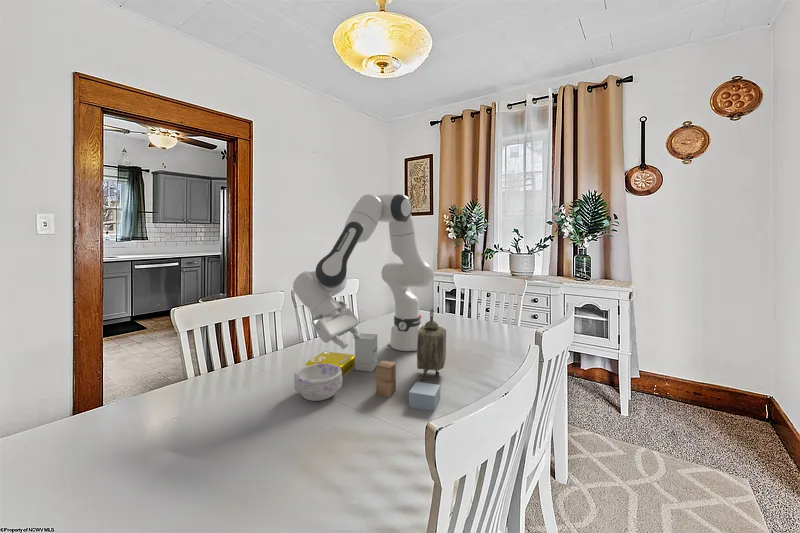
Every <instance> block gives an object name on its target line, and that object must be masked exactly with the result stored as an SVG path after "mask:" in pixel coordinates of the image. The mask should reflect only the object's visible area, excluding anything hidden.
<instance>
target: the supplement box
mask: <svg viewBox="0 0 800 533" xmlns="http://www.w3.org/2000/svg"><path fill="white" fill-rule="evenodd" d="M358 334H359V335H360V336H361V338H360V339H359V340H358V341H356V340H355V339H354V355H355V367H354V370H355V371H361V372H373V371H374V370H375V369H376V365H377V364H378V334H377V333H375V334H374V333H358Z"/></svg>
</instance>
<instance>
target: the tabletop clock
mask: <svg viewBox="0 0 800 533" xmlns="http://www.w3.org/2000/svg"><path fill="white" fill-rule="evenodd" d="M446 355H447V329H446V328H445V327H442V326H439V325H438V323H437V322H436V321H435V320H434V308H431V309H430V312H429V320H428V321H427V322H425V324H424V325H422V326H421V327H420V329H419V332H418V339H417V350H416V362H417V363H416V367H417V369H418V370H424V371H423V375H420V380H421V381H424V380H425V378H426V377H425V376H426V374H427V372H428V371H435V372H434V375H435V376H437V377H438V376H440V372H439V371H440V370H443V369H444V368H445V363H446V358H447V357H446Z"/></svg>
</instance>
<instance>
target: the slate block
mask: <svg viewBox="0 0 800 533" xmlns="http://www.w3.org/2000/svg"><path fill="white" fill-rule="evenodd" d="M440 400H441V384H435V383H429V382H428V383H427V382H421V381H415V383H414V384H413V386H412V387H411V388H410V390H409V391H408V408H412V409H418V410H424V411H431V412H435V411H436V409H437V408H438V405H439V402H440Z"/></svg>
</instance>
